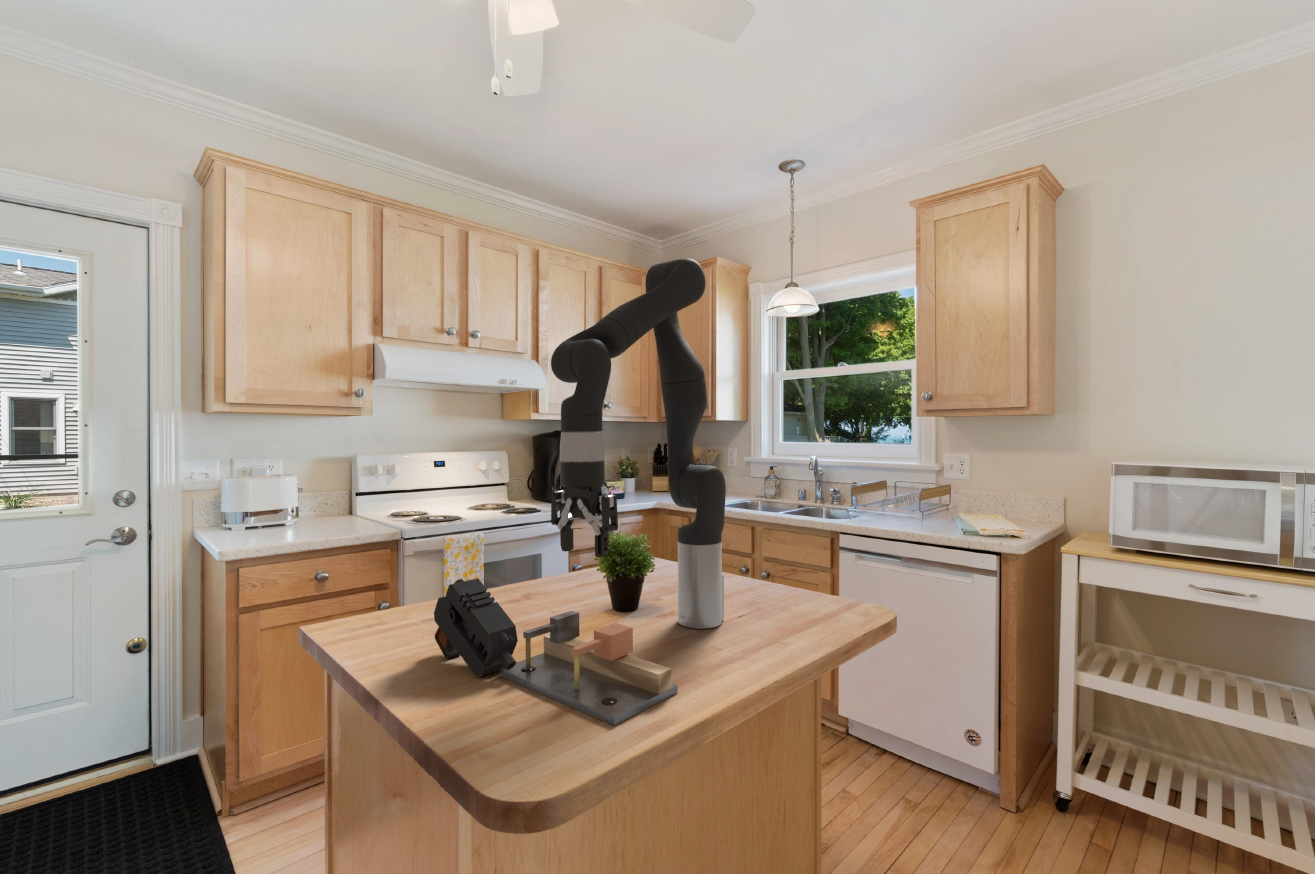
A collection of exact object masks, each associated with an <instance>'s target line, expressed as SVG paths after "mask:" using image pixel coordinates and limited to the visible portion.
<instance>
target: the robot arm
mask: <svg viewBox="0 0 1315 874" xmlns="http://www.w3.org/2000/svg"><path fill="white" fill-rule="evenodd" d="M706 282H707V281H706V275H705V271H704V270H703V267H702V265H701V264H700V263H698V262H697V261H696V260H694V259H692V258H689V257H688V258H686V257H685V258H684V257H683V258H677V259H673V260H669V261H665V262H659V263H656V264H653V265H651V266H650V268H649V269H648V270H647V273H646V276H645V282H644V286H645V293H643V294H642V295H641V294H640V295H639V296H637V297H635V298H633V299H631V300H628V301H626V302H625V303H623V304H621V305H619V306H617V307H616V308H614V309H612V310H611V311H610V312H609V313H607V314H606V315H604V317H602V318H600V320H599V321H597V322H596V323H595V324H594V325H592V326H590V327H589V328H586V329H583V330H582V331H579V332H578V333H576V334H574V335H572V336H570V337H568V338H567V339H565V340H564V341H562V342H561V343H560V344H559V345H558V346H557V347H556V348H555V349H554V351H553V353H552V355H551V359H550V368H551V371H552V372H553V375H554V376H555V378H557V379H559V381H561V382H564V383H567V384H568V383H569V384H575V383H576V385H575V389H574V392H573V394H572V395H570V396H569V397H566V398H564V399H563V400H562V401H561V404H560V405H561V406H560V441H559V464H560V465H559V466H560V467H559V468H560V469H559V470H560V471H559V472H560V473H559V474H560V477H559V478H560V479H559V480H560V483H559V484H560V486H561V487H563V488H564V489H561V490H560V489H559V490H553V491H551V495H550V496H551V498H550V500H551V502H550V504H551V505H550V523H551V525H552V526H556V527H557V528H558V529H559V534H560V537H559V539H560V541H559V542H560V547H561V551H562V552H570V551H573V550H574V528H573V526H574V525H575V522H576V520H578V519H582V520H585V521H586V522H587V524H589V525H590V526H591V527H592V529H593V531H594V533H595V535H594V557H596V558H598V559H599V558H605V557H607V555H608V554H609V535H610V534H611V533H612V532H615V531H618V528H619V520H618V519H619V518H618V517H619V515H618V499H617V495H616V494H607V495H603V491H602V488H603V486H605V483H606V475H605V474H606V473H605V471H606V470H605V469H606V468H605V440H604V432H603V406H604V402H605V399H606V396H607V390H608V385H609V381H610V379H611V371H612V359H615V358H617V357H619V356H621V355H622V354H623V353H625V352H626V351H627V350H628V349H629V348H631V346H633V345H634V344H635V343H636V342H638V341H639V340H640V339H641V338H643V336H645V335H646V334H647V333H648V332H650V331H651V330H653V334H654V338H655V346H656V352H657V358H658V359H657V360H658V366H659V375H660V376H659V377H660V387H661V397H662V402H663V409H664V416H665V418H664V419H665V428H666V438H667V439H666V440H667V462H668V463H667V465H668V466H667V469H668V471H667V472H668V475H667V476H668V489H669V494H670V498H671V499H672V501H673V503H674V504H675V505H676V506H678V507H681V508H686V509H693V510H696V511H695V518H694V520H692V522H690V523H688V524H685V525H682V526H680V527H679V528H678V529H677V530H678V531H677V596H678V597H677V607H678V608H677V615H678V616H677V623H678V624H679V625H680V626H682V627H685V628H690V629H697V630H698V629H700V630H704V629H705V630H706V629H711V628H713V629H714V628H716V627H719V626H721V625H722V623H723V620H725V584H724V583H725V577H724V575H723V574H722V572H723V568H722V565H723V564H722V563H723V562H722V561H723V558H722V555H723V554H722V553H723V552H722V550H723V549H722V548H723V547H722V544H723V543H722V540H723V539H722V535H723V531H724V527H725V516H726V515H725V514H726V513H725V512H726V496H727V494H726V493H727V490H726V489H727V488H726V480H725V475H724V473H723V471H722V470H721V468H719V467H717V466H714V465H702V464H701V465H699V464H698V465H697V464H695V461H694V458H695V457H694V439H695V435H696V432H697V429H698V428H699V425H700V423H701V421H702V419H703V417H704V414H705V412H706V408H707V404H708V393H707V384H706V383H707V382H706V373H705V371H704V368H703V365H702V363H701V361H700V360H699V358H698V356H697V354H695V352H694V350H693V349H692V347H691V346H690V345H689V343H688V341H687V340H686V339H685V337H684V335H683V332H682V330H681V327H680V321H679V316H678V312H679V311H682V310H684V309H685V308H687V307H690V306H691V305H693V304H695V303H698V302H699V300H700V299H701V298H702V297H703V295H704V294H705V291H706V285H707V283H706ZM558 513H559V515H558ZM558 516H559V517H558Z"/></svg>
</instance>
